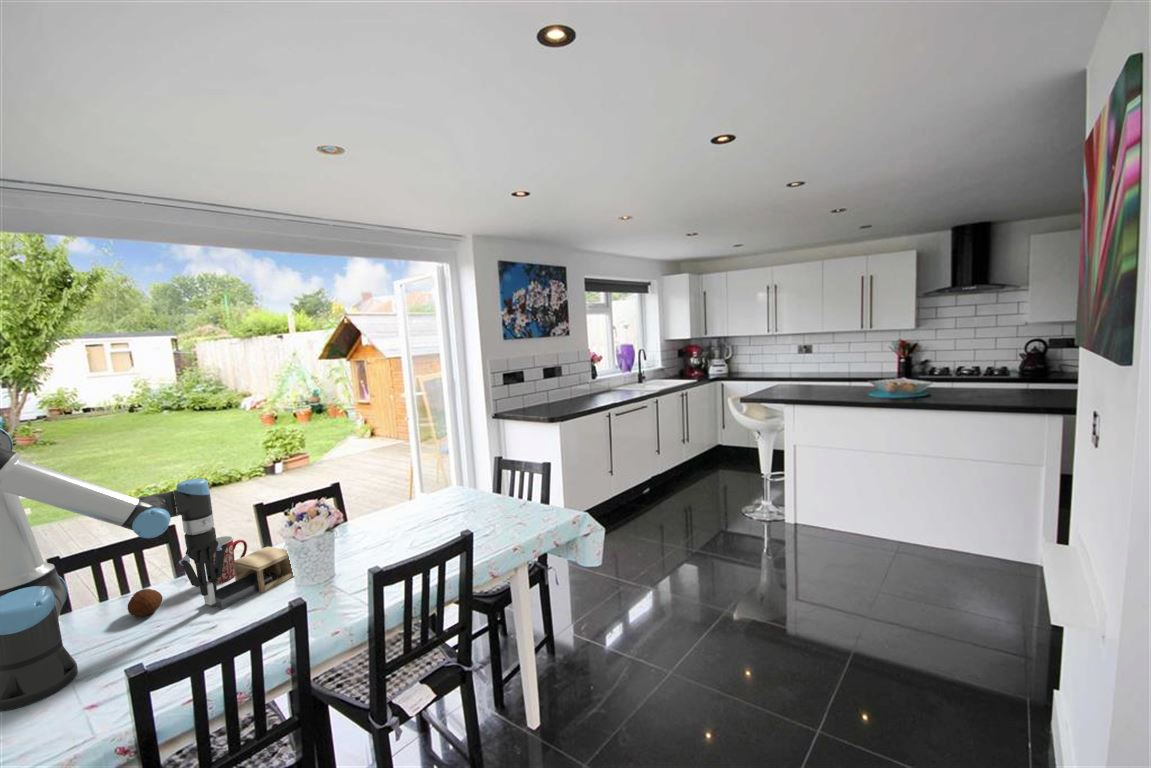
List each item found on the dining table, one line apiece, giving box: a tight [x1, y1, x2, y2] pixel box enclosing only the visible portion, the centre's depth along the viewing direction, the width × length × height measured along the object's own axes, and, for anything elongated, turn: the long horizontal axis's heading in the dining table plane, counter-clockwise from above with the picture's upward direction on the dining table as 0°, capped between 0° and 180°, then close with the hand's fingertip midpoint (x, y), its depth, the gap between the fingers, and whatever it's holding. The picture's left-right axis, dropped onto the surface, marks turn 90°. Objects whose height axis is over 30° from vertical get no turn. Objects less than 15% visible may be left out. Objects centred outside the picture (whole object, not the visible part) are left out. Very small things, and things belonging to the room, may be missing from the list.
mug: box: [213, 535, 248, 584], centre depth 177 cm, size 13×9×14 cm
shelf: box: [233, 545, 294, 594], centre depth 172 cm, size 12×13×9 cm
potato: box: [126, 588, 164, 618], centre depth 156 cm, size 8×11×8 cm
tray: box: [203, 572, 273, 611], centre depth 165 cm, size 16×9×3 cm, turn 154°
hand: (210, 603), depth 157 cm, fingers closed
